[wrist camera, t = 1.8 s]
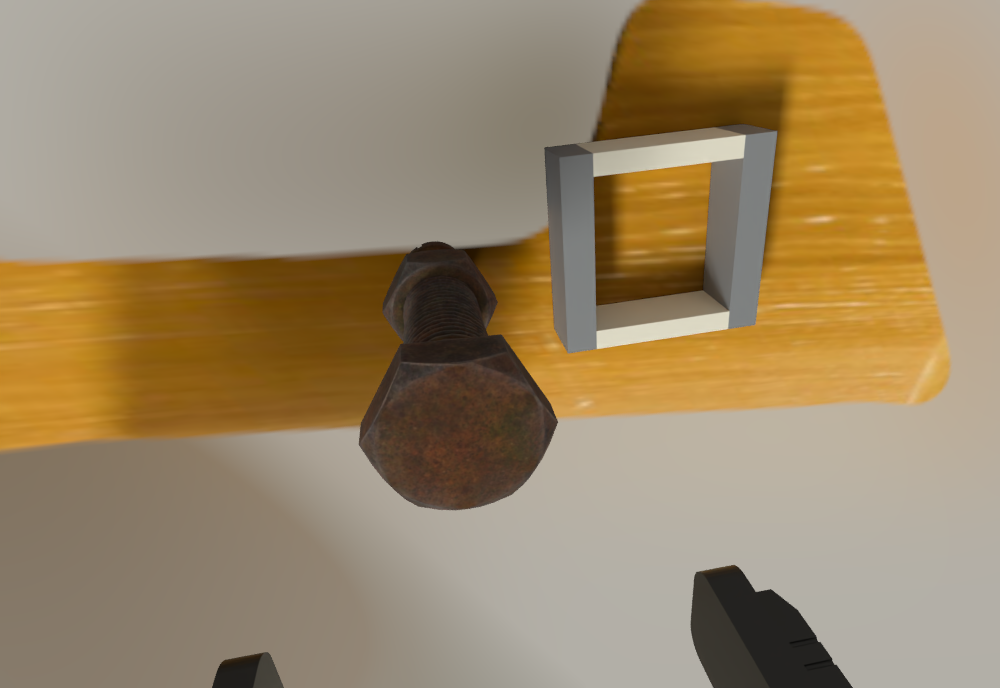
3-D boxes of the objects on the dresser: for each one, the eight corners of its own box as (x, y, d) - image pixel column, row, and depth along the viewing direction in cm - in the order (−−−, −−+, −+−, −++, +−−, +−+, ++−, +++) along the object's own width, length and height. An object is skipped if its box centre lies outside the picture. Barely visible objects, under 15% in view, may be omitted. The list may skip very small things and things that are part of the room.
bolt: (489, 216, 29) (562, 352, 16) (493, 310, 32) (560, 497, 18) (370, 224, 29) (344, 374, 15) (382, 319, 31) (369, 522, 18)
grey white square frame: (554, 328, 33) (567, 353, 30) (544, 147, 28) (559, 157, 26) (727, 303, 34) (755, 324, 31) (743, 123, 29) (777, 130, 27)
